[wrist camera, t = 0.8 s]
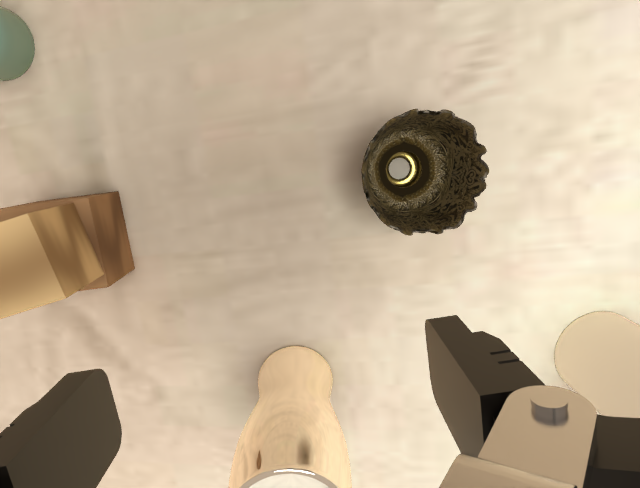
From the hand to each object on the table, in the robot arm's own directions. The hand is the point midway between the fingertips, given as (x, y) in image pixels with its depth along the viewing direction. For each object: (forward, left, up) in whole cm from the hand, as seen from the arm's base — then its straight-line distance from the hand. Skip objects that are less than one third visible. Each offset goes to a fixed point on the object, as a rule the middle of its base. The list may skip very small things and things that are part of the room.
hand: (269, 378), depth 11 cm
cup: (-3, +8, -25) cm, 26 cm away
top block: (-1, -16, -19) cm, 25 cm away
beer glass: (+13, -2, -25) cm, 28 cm away
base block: (-1, -16, -24) cm, 29 cm away
